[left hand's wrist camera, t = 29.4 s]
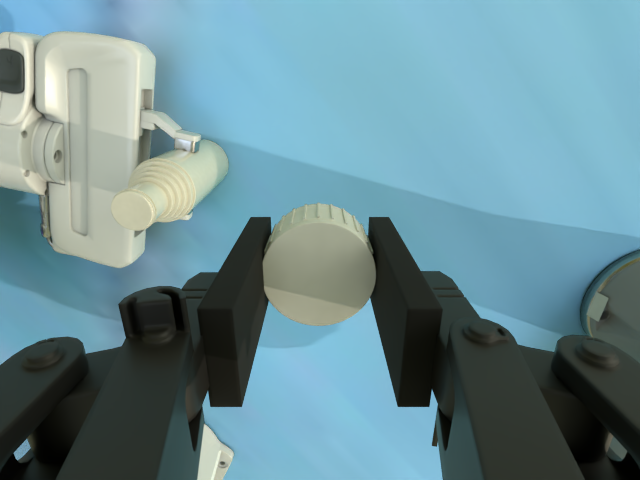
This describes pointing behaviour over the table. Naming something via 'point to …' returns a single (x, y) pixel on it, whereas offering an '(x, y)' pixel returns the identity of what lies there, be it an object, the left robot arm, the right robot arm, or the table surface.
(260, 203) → the table surface
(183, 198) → the bottle
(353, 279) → the cap
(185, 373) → the left robot arm
